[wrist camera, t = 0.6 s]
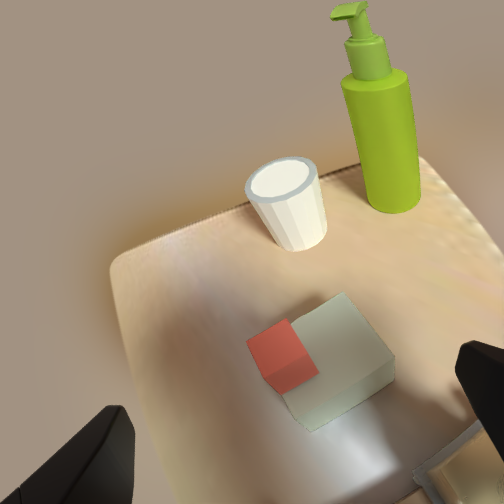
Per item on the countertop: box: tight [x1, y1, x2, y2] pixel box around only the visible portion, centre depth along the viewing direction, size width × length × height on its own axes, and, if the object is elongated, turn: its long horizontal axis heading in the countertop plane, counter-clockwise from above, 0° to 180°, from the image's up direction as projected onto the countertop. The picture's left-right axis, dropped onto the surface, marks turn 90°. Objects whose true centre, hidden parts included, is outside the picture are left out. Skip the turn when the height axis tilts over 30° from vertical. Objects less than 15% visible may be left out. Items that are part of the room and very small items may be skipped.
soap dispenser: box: [330, 1, 421, 213], centre depth 24 cm, size 6×7×20 cm
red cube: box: [246, 318, 319, 395], centre depth 18 cm, size 3×3×3 cm
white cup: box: [244, 156, 327, 252], centre depth 31 cm, size 7×7×7 cm
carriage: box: [411, 419, 504, 504], centre depth 10 cm, size 5×5×8 cm
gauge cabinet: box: [282, 291, 395, 432], centre depth 21 cm, size 6×7×4 cm
